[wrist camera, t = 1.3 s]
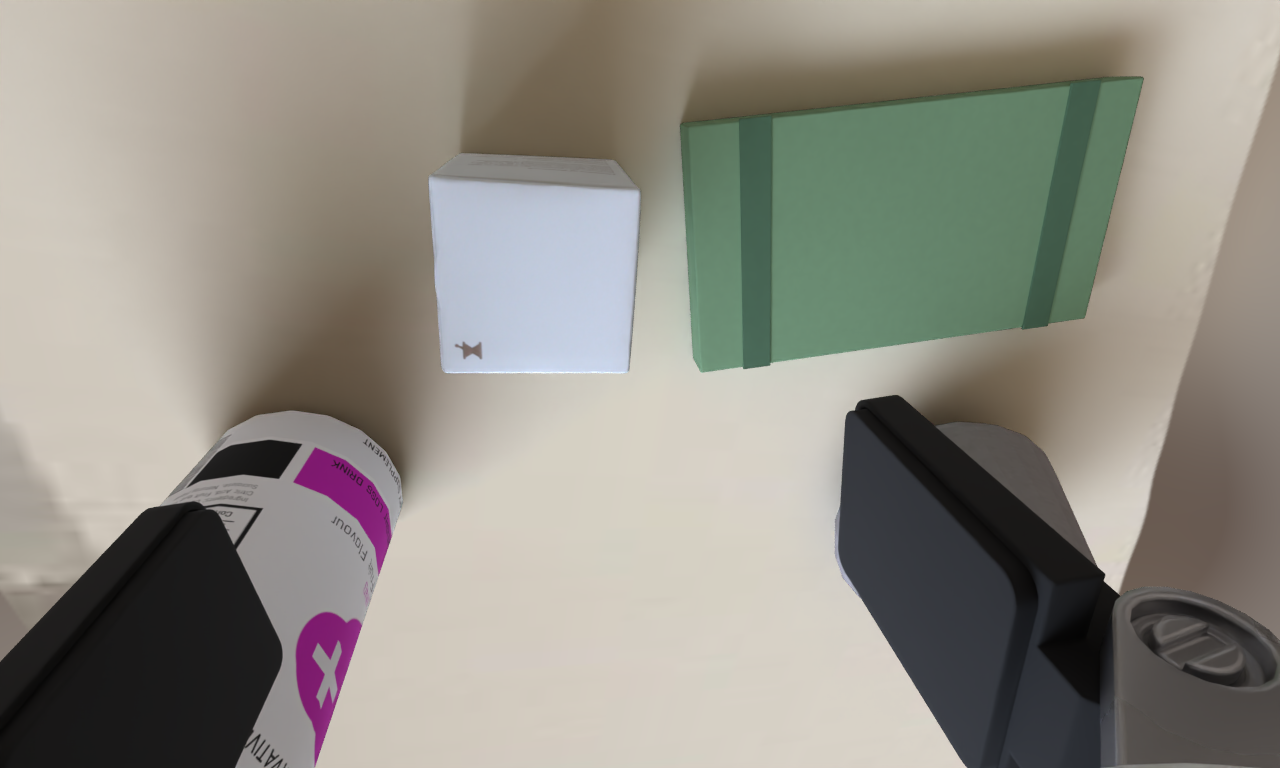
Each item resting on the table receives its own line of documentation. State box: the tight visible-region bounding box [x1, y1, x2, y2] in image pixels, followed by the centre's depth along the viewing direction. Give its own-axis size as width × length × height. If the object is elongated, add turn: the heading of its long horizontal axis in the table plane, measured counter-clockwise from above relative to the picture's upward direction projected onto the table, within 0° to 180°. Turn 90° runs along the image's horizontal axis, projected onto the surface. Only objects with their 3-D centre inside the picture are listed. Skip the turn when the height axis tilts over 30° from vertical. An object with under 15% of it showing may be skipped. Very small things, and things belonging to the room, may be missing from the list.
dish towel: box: [680, 77, 1144, 372], centre depth 26 cm, size 10×18×2 cm, turn 95°
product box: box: [428, 153, 641, 373], centre depth 22 cm, size 6×6×7 cm
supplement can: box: [160, 410, 403, 768], centre depth 22 cm, size 8×8×15 cm
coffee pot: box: [835, 422, 1097, 598], centre depth 29 cm, size 21×12×15 cm, turn 15°
